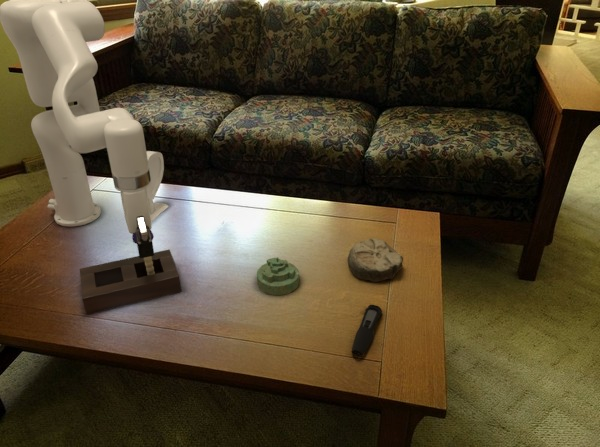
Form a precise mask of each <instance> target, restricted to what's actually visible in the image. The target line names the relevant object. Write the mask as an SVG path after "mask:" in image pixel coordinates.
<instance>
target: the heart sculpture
mask: <svg viewBox="0 0 600 447" xmlns="http://www.w3.org/2000/svg"><path fill="white" fill-rule="evenodd" d="M146 152H147V159H148V165H149V172H150V178H151V184H150V186H149V187H147V188H146V189H147V195H148V202H149V209H150V217H151V222H153V221H154V220H156V218H157V217H158V216H159V215H160V214H162V213H163V212H164V211H165V210H167V208H168V207H169V205H168V204H166V203H163V202H157V203H156V202H155V203H154V200H155V197H156V195H157V193H158V190H159V188H160V186H161V183H162V181H163V177H164V171H165V163H164V161H165V160H164V155H163V154H162V153H161V152H159V151H153V150H152V151H151V150H146Z"/></svg>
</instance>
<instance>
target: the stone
mask: <svg viewBox="0 0 600 447" xmlns="http://www.w3.org/2000/svg"><path fill="white" fill-rule="evenodd" d="M403 261H404V257H403V255H402V254H400V253H399V252H398V251H397V250H396V249H394V248H393V247H392V246H391V245H389V243H387V241H385V240H384V239H379V238H375V237H373V238H367V239H364V240H361V241H359V242H356V243H355V244H354V245H353V246H352V247H351V248H350V250H349V253H348V257H347V264H348V268H349V269H350V270H351V273H352V274H353V276H354V277H356V278H358V279H360V280H362V281H370V282H372V283H376V282H380V281H381V282H382V281H385V280H387V279H393V278H394V277H395V275H396V274H397V273H398V272H399V271H400V270H401V268H402V267H403V266H404V265H403Z"/></svg>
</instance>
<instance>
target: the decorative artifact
mask: <svg viewBox="0 0 600 447" xmlns="http://www.w3.org/2000/svg"><path fill="white" fill-rule="evenodd" d="M256 284H257V288H258V289H260V291H262V292H263V293H265V294H268V295H272V296H283V295H288V294H290V293H292V292H294V291H295V290H296V289H297V288H298V286H299V284H300V270H299V268H298V267H296V265H295V264H293V263H291V262H289V261H288V260H286V259H281V258H279V257H271V258H268V259H266V263H264V264H262V265H261V266H260V267H258V269H257V271H256Z"/></svg>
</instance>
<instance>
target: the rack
mask: <svg viewBox="0 0 600 447" xmlns="http://www.w3.org/2000/svg"><path fill="white" fill-rule="evenodd" d="M151 257H152V262H153V267H154V272H155V274H153V275H149V276H148V275H147V270H146V266H145V261H144V258H140V257H139V255H136V256H133V257H128V258H122V259H118V260H113V261H108V262H103V263H100V264H96V265H90V266H86V267H85V266H84V267H80V268H79V277H80V278H79V279H80V288H81V289H80V290H81V299H82V302H83V307H84V309H85V314H86V315H90V314H95V313H99V312H103V311H107V310H111V309H112V310H113V309H116V308H120V307H123V306H128V305H131V304H137V303H140V302H145V301H148V300H152V299H156V298H160V297H165V296H169V295H173V294H177V293H181V292H182V285H181V284H182V283H181V277H180V274H179V271H178V269H177V266H176V263H175V260H174V257H173V255H172V252H171V249H164V250H160V251H154V256H151Z"/></svg>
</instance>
